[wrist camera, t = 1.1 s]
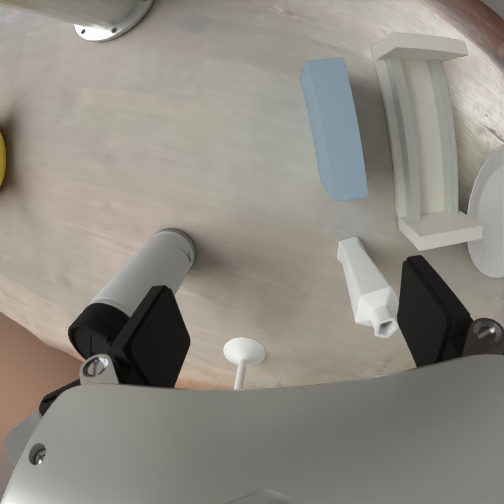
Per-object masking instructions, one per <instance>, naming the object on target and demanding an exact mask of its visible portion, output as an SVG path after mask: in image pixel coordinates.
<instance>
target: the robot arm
mask: <svg viewBox="0 0 504 504" xmlns="http://www.w3.org/2000/svg"><path fill="white" fill-rule="evenodd" d="M153 1H154V0H0V7H4V8H10V9H16V10H21V11H26V12H31V13H35V14H40V15H44V16H48V17H51V18H55V19H59V20H62V21H66V22H69V23H72V24H75V29H76V31H77V33H78V34H79V35H80V37H82V38H83V39H85V40H88V41H91V42H104V41H108V40H112V39H114V38H116V37H118V36H120V35H122V34H124V33H125V32H127V31H128V30H130V29H131V28H132V27H133V26H135V25H136V24H137V23H138V22H139V21H140V20H141V19H142V18H143V16H144V15H145V14H146V13H147V11H148V10H149V8H150V6H151V5H152V3H153ZM397 322H398V325H399V327H400V329H401V332H402V334H403V336H404V338H405V340H406V343H407V345H408V347H409V349H410V352H411V354H412V356H413V359H414V361H415V363H416V366H417V368H413V369H408V370H404V371H399V372H394V373H389V374H384V375H378V376H373V377H367V378H361V379H354V380H348V381H340V382H333V383H324V384H315V385H305V386H294V387H280V388H261V389H186V388H174V386H175V383H176V381H177V378H178V375H179V373H180V370H181V367H182V365H183V362H184V360H185V357H186V354H187V352H188V349H189V346H190V336H189V334H188V331H187V329H186V326H185V324H184V321H183V318H182V316H181V313H180V310H179V308H178V305H177V302H176V300H175V297H174V294H173V291H172V289H171V288H168V287H167V286H166V285H159V286H152V287H151V289H150V290H149V292H148V293H147V294H146V296H145V297H144V299H143V300H142V301H141V303H140V304H139V306H138V307H137V308H136V310H135V311H134V313H133V314H132V316H131V317H130V319H129V320H128V322H127V323H126V324H125V326H124V327H123V329H122V330H121V332H120V333H119V335H118V336H117V338H116V339H115V341H114V342H113V344H112V345H111V347H110V348H109V349H110V351H111V353H112V354H111V355H110V357H109V356H108V355H106V354H97V355H94V356H92V357H90V358H88V359H87V360H86V361H85V362H84V363H83V364H82V365H81V368H80V370H79V376H80V379H78V380H76V381H74V382H72V383H70V384H68V385H66V386H64V387H62V388H60V389H58V390H56V391H54V392H52V393H50V394H47V395H46V396H45V397H44V398H43V400H42V401H41V404H40V406H39V413H37V411H35V412H34V413H32V414H31V415H30V416H29V417H27V418H26V419H25V420H24V421H23V422H21V423H20V424H19V425H18V426H16V427H15V428H14V429H13V430H11V431H10V432H9V433H8V434H7V436H6V438H5V442H4V443H5V448H6V451H7V453H8V456H9V458H10V461H11V463H12V466H13V468H14V472H13V474H12V476H11V478H10V481H9V483H8V486H7V488H6V491H5V493H4V496H3V498H2V501H1V504H504V329H503V327H502V326H501V325H500V324H499V323H498V322H496V321H495V320H492V319H489V318H479V319H476V320H475V321H473V320H472V318H471V317H470V313H469V312H468V311H467V309H466V308H465V307H464V306H463V304H462V303H461V302H460V300H459V299H458V298H457V297H456V295H455V294H454V293H453V292H452V290H451V289H450V288H449V287H448V285H447V284H446V283H445V282H444V281H443V279H442V278H441V277H440V276H439V275H438V273H437V272H436V271H435V270H434V269H433V268H432V267H431V265H430V264H429V263H428V262H427V261H426V260H425V259H424V257H423V256H421V255H417V256H410V257H408V258H407V260H406V261H404V262H403V266H402V278H401V289H400V298H399V306H398V314H397Z"/></svg>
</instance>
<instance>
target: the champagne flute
mask: <svg viewBox="0 0 504 504" xmlns="http://www.w3.org/2000/svg"><path fill="white" fill-rule="evenodd" d="M224 354H225V356H226V358H227V359H228V360H229V361H230V362H232V363H234V364H236V365H238V370H237V376H236V381H235V386H234V389H243V383H244V377H245V370H246V367H250V366H255V365H258V364H259V363H261V362H262V361H263V360H264V358H265V355H266V352H265V349H264V347H263V346H262V345H261V344H260V343H259V342H257V341H255V340H253V339H250V338H242V337H240V338H235V339H232V340H230V341H228V342H227V343H226V344H225V346H224Z"/></svg>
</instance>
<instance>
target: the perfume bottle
mask: <svg viewBox="0 0 504 504" xmlns="http://www.w3.org/2000/svg"><path fill="white" fill-rule="evenodd" d="M337 259H338V260H339V261H340V262H341V263H342V265H343V269H344V273H345V277H346V282H347V286H348V290H349V295H350V300H351V304H352V309H353V314H354V319H355V322H356V323H358V324H362V325H366V326H371V327H374V329H375V333H374V335H375V336H378V337H383V338H388V337H390V336H391V335H392V334H393V333H394V332H395V331H396V330H397V329H398V327H399V326H398V324H397V322H396V320H395V319H394V318H393V316H394V315H396V314H397V313H398V306H399V300H398V298H397V296H396V294H395V292H394V290H393V288H392V287H391V286H390V284H389V283H388V281H387V280H386V279H385V277H384V276H383V275H382V273H381V272H380V271H379V269H378V268H377V267H376V265H375V264H374V263H373V261H372V260H371V259H370V257H369V256H368V255H367V253H366V249H365V247H364V246H363V244H362V242H361V241H360V239H359V238H358V237H357V236H355V237H352V238H349V239H345V240H342V241H339V243H338V253H337Z"/></svg>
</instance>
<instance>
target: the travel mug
mask: <svg viewBox="0 0 504 504" xmlns="http://www.w3.org/2000/svg"><path fill="white" fill-rule="evenodd" d="M195 258H196V250H195V246H194V244H193V242H192V240H191V239H190V238H189V237H188V236H187V235H186V234H185V233H183V232H182V231H180V230H177V229H172V228H167V229H163V230H161V231H159V232H158V233H157V234H156V235H155V236H154V237H153V238H152V239H150V240H149V241H148V242H147V243H146V244H145V245H144V246H143V247H142V248H141V249H140V250H139V251H138V252H137V253H136V254H135V255H134V256H133V257H132V258H131V259H130V260H129V261H128V262H127V263H126V264H125V265H124V266H123V268H122V269H121V270H120V271H119V272H118V273H117V274H116V275H115V276H114V277H113V278H112V279H111V280H110V281H109V282H108V283H107V284H106V285H105V286H104V288H103V289H102V290H101V291H100V292H99V293H98V294H97V295H96V296H95V297H94V298H93V300H92V301H91V302H90V303H89V304H88V305H87V306H86V308H85V310H84V311H83V312H82V313H81V314H80V315H79V316H78V318H77V319H76V320H75V321H74V322H73V323H72V325H71V326H70V327H69V329H68V336H69V339H70V341H71V343H72V345H73V347H74V348H75V349H76V351H77V352H78V353H79V354H80V355H81V356H82V357H83V358H84V359H85V360H87V359H88V358H90V357H92V356H94V355H97V354H106V355H108V356H109V357H110V355H111V354H112V353H111V351H110V349H109V348H110V347H111V345H112V344H113V342H114V341H115V339H116V338H117V336H118V335H119V333H120V332H121V330H122V329H123V327H124V326H125V324H126V323H127V322H128V320H129V319H130V317H131V316H132V314H133V313H134V311H135V310H136V308H137V307H138V306H139V304H140V303H141V301H142V300H143V299H144V297H145V296H146V294H147V293H148V292H149V290H150V289H151V287H152V286H159V285H166V286H167V287H168V288H171V289H172V291H173V294H174V295H175V294H176V292H177V290H178V288H179V287H180V285H181V283H182V282H183V280H184V278H185V276H186V275H187V273H188V271H189V270H190V268H191V266H192V265H193V263H194V261H195Z"/></svg>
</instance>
